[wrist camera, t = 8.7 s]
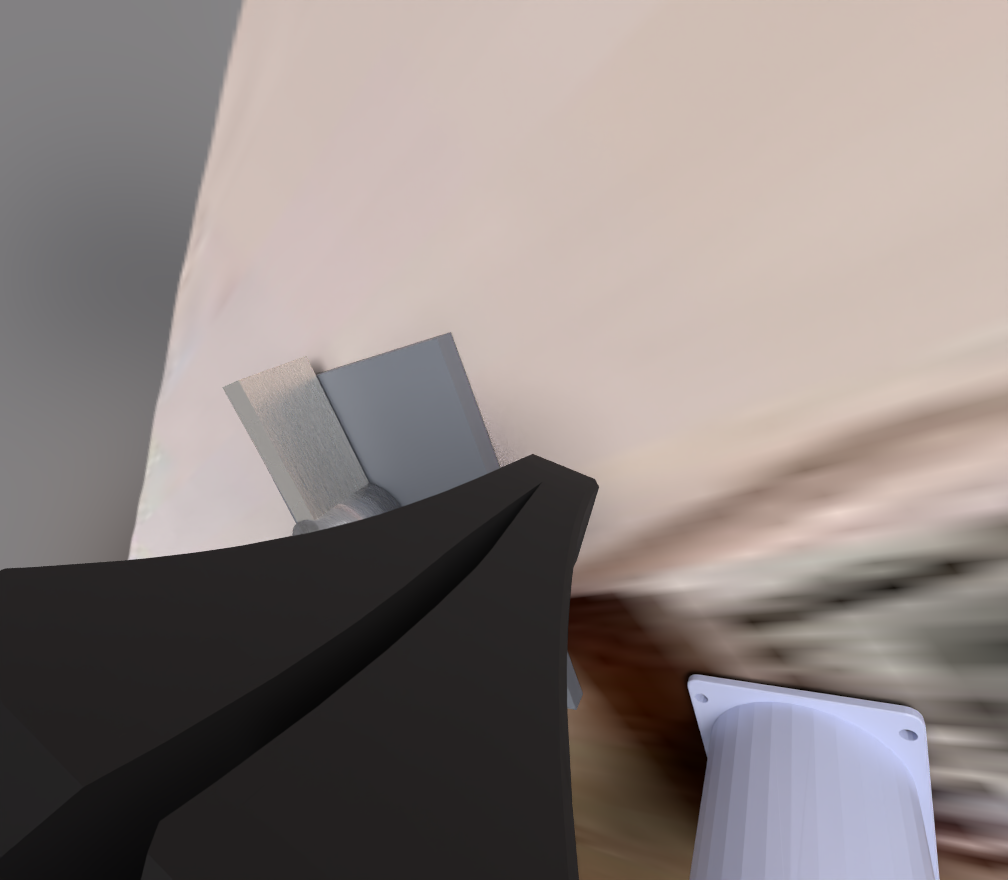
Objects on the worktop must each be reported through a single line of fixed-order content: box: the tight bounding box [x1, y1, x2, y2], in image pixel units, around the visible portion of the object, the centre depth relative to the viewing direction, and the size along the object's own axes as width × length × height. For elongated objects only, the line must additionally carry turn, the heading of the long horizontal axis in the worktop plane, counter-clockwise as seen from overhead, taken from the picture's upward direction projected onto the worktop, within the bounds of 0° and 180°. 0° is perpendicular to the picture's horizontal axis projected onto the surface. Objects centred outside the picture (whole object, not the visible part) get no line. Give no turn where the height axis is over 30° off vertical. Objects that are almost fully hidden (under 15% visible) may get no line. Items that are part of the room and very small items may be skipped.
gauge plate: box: [267, 332, 583, 710], centre depth 27 cm, size 20×16×1 cm
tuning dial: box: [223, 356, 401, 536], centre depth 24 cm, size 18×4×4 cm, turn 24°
